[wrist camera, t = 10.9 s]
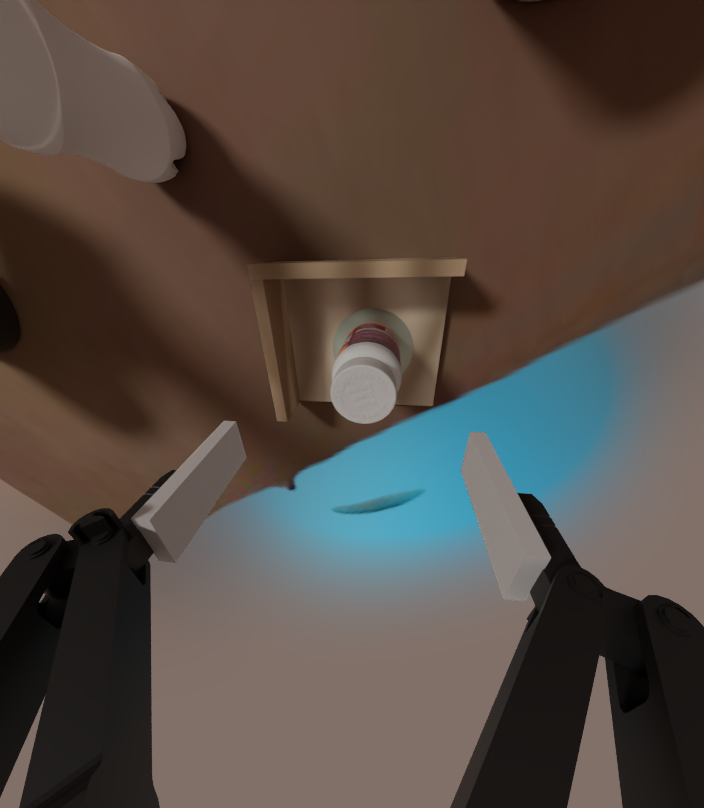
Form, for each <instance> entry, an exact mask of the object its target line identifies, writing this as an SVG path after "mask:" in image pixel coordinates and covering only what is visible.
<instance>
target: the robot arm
mask: <svg viewBox="0 0 704 808" xmlns="http://www.w3.org/2000/svg"><path fill="white" fill-rule="evenodd" d="M18 337H19V327H18V322H17V318H16V315H15V312H14V310H13V308H12V306H11V304H10V302H9V300H8V298H7V297H6V295H5V294H4V292H3V290H2V289H1V288H0V353H2V352H6V351H8V350H10V349H12V348H13V347H14V346H15V345H16V343H17V341H18ZM246 458H247V457H246V454H245V450H244V447H243V443H242V440H241V437H240V433H239V430H238V426H237V423H236V421H223V422H222V423H221V424H220V425H219V426H218V427H217V428H216V430H215V431H214V432H213V433H212V434H211V435H210V436H209V437H208V438H207V439H206V440H205V441H204V442H203V443H202V444H201V445H200V446H199V447H198V448H197V449H196V451H195V452H194V453H193V454H192V455H191V456H190V457H189V458H188V459H187V460H186V461H185V462H184V463H183V464H182V465H181V466H180V467H179V468H178V469H177V470H172V471H170V472H168V473H167V474H165V475H164V476H162V477H161V478H160V479H159V480H158V481H157V482H156V483H155V484H154V485H153V486H152V488H150V489H149V490H148V491H147V492H146V493H145V495H143V496H142V497H141V498H140V499H139V500H138V501H137V502H136V503H135V504H134V505H133V506H132V507H131V508H130V509H129V510H128V511H127V512H126V513H125V514H124V515H123V516H122V517H121V518H120V519H119V518H118V517H117V516H116V514H115V513H114V511H113V510H111V509H109V508H104V509H99V510H95V511H93V512H91V513H88V514H86V515H85V516H83V517H82V518H80V519H79V520H77V521H76V522H75V523H74V524H73V525H72V526H71V528H70V530H69V531H68V533H69V534H70V535H71V536H72V537H73V539H74V540H70V541H65V539H64V538H63V537H62V536H61V535H58V534H51V535H47V536H44V537H41V538H39V539H37V540H35V541H33V542H31V543H30V544H28V545H27V546H26V547H25V548H23V549H22V550H21V551H20V552H19V553H18V554H17V555H16V556H15V557H14V559H13V560H12V561H11V563H10V564H9V565H8V567H7V568H6V569H5V571H4V572H3V573H2V575H1V576H0V796H1V794H2V792H3V790H4V787H5V785H6V783H7V781H8V778H9V776H10V774H11V771H12V769H13V767H14V765H15V762H16V760H17V758H18V756H19V753H20V751H21V749H22V747H23V744H24V742H25V740H26V738H27V735H28V733H29V731H30V728H31V726H32V724H33V722H34V719H35V717H36V715H37V713H38V710H39V708H40V706H41V704H42V701H43V699H44V697H45V699H44V704H43V708H42V712H41V717H40V721H39V726H38V730H37V734H36V738H35V742H34V747H33V751H32V756H31V760H30V764H29V768H28V772H27V777H26V781H25V786H24V790H23V794H22V798H21V803H20V807H19V808H160V807H159V802H158V798H157V794H156V792H155V789H154V786H153V780H152V735H151V734H152V731H151V728H152V727H151V725H152V724H151V596H150V595H151V594H150V593H151V592H150V563H149V561H148V559H149V558H150V557H151V555H152V554H153V553H154V554H155V555H156V557H157V558H158V560H159V561H165V562H174V563H175V562H176V561H177V560H178V558H179V557H180V555H181V554H182V552H183V551H184V549H185V548H186V546H187V545H188V543H189V542H190V541H191V539H192V537H193V536H194V535H195V533H196V532H197V530H198V529H199V527H200V526H201V524H202V523H203V521H204V520H205V518H206V517H207V515H208V514H209V512H210V511H211V509H212V508H213V506H214V505H215V503H216V502H217V501H218V499H219V498H220V496H221V495H222V493H223V492H224V490H225V489H226V487H227V486H228V484H229V483H230V481H231V480H232V478H233V477H234V475H235V474H236V472H237V471H238V469H239V468H240V466H241V465H242V463H243V462H244V461H245V459H246ZM461 472H462V475H463V478H464V481H465V484H466V487H467V491H468V494H469V497H470V500H471V503H472V506H473V509H474V512H475V515H476V518H477V521H478V524H479V527H480V530H481V533H482V536H483V539H484V542H485V545H486V548H487V552H488V555H489V557H490V561H491V564H492V567H493V570H494V573H495V575H496V579H497V582H498V585H499V588H500V591H501V594H502V597H503V599H508V600H517V601H526V599H527V598H528V596H529V594H531V596H532V598H533V601H534V603H535V607H534V609H533V610H532V612H531V613H530V615H529V616H528V618H527V620H528V623H527V625H526V628H525V630H524V633H523V635H522V637H521V640H520V642H519V644H518V647H517V649H516V652H515V654H514V656H513V659H512V661H511V664H510V666H509V668H508V671H507V673H506V676H505V678H504V681H503V683H502V685H501V688H500V690H499V692H498V695H497V697H496V699H495V702H494V704H493V707H492V709H491V711H490V714H489V716H488V719H487V721H486V723H485V726H484V728H483V731H482V733H481V735H480V738H479V740H478V743H477V745H476V747H475V750H474V752H473V755H472V757H471V759H470V762H469V764H468V767H467V769H466V771H465V774H464V776H463V779H462V781H461V783H460V786H459V788H458V790H457V793H456V795H455V798H454V800H453V803H452V805H451V807H450V808H567V805H568V800H569V795H570V790H571V786H572V781H573V776H574V772H575V767H576V762H577V757H578V753H579V747H580V743H581V739H582V734H583V729H584V724H585V719H586V715H587V710H588V706H589V701H590V696H591V691H592V687H593V682H594V677H595V672H596V668H597V663H598V658H599V655H600V656H603V657H605V661H606V670H607V679H608V687H609V695H610V704H611V712H612V721H613V729H614V738H615V745H616V754H617V763H618V770H619V780H620V788H621V796H622V805H623V808H704V627H703V625H702V624H701V623H700V622H699V621H698V620H697V619H696V618H695V617H694V616H693V615H692V614H691V613H690V612H688V611H687V610H686V609H684V608H683V607H682V606H680V605H679V604H677V603H675V602H673V601H671V600H669V599H667V598H664V597H661V596H658V595H648V596H647V597H645V598H644V599H643V600H642V601H639V600H637V599H634V598H632V597H629V596H626V595H624V594H621V593H618V592H616V591H613V590H611V589H609V588H606V587H605V586H604V585H603V584H602V583H601V582H600V581H599V580H598V579H597V578H596V577H595V576H594V575H592V574H591V573H590V572H588V571H587V570H585V569H583V568H581V567H580V565H579V564H578V562H577V561H576V559H575V557H574V555H573V554H572V552H571V551H570V549H569V547H568V546H567V544H566V542H565V541H564V539H563V537H562V536H561V534H560V532H559V531H558V529H557V528H556V527H555V524H554V522H553V521H552V519H551V518H550V517H549V514H548V512H547V511H546V509H545V508H544V506H543V504H542V503H541V502H540V501H538V500H537V499H536V498H535V497H534V496H533V495H532V494H522V493H517V492H516V490H515V488H514V486H513V484H512V482H511V480H510V478H509V477H508V475H507V473H506V471H505V469H504V467H503V465H502V463H501V461H500V460H499V458H498V456H497V454H496V452H495V450H494V448H493V446H492V444H491V443H490V441H489V439H488V437H487V435H486V433H482V432H470V435H469V439H468V443H467V447H466V451H465V456H464V460H463V464H462V469H461ZM43 593H44V594H46V595H45V597H44V598H43V600H42V601H41V602H40V603H39V601H40V599H41V597H42V595H43ZM45 694H46V695H45Z"/></svg>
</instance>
